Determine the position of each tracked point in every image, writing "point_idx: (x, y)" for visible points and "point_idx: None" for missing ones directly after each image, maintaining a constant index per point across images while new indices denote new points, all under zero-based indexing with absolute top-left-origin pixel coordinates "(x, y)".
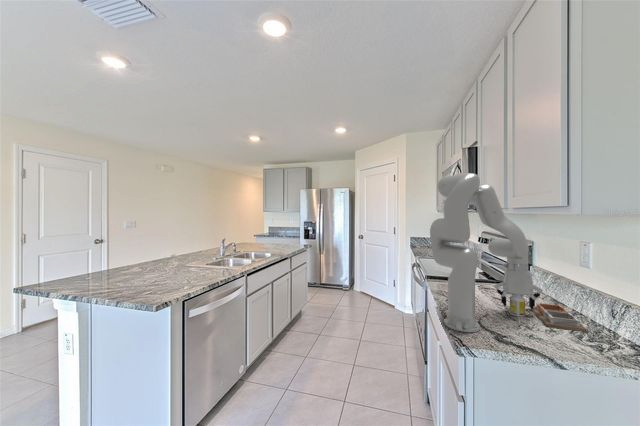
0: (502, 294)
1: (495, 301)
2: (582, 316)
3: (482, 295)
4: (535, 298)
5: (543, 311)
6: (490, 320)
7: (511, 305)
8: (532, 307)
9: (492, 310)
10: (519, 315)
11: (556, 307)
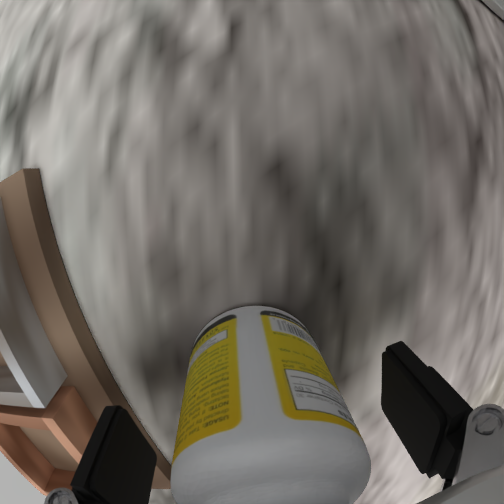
0: (497, 430)
1: (368, 484)
2: None
3: (405, 498)
4: (53, 501)
5: (50, 397)
6: (435, 62)
7: (330, 380)
8: (108, 414)
9: (430, 328)
10: (235, 311)
11: (56, 485)
